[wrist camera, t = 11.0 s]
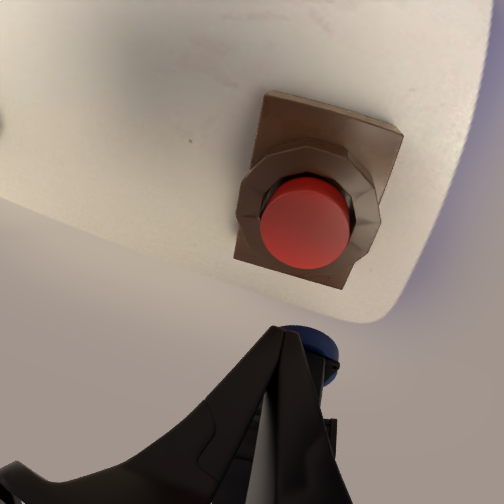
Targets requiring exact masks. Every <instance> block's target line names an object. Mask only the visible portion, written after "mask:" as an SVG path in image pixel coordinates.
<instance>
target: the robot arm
mask: <svg viewBox="0 0 504 504" xmlns="http://www.w3.org/2000/svg"><path fill="white" fill-rule="evenodd" d="M339 368H340V363H339V362H338V361H336V360H333V359H330V358H328V357H325V356H322V355H320V354H317V353H315V352H312V351H309V350H307V349H304V348H303V345H302V342H301V338H300V335H299V333H297V332H294V331H291V330H284V329H283V328H280V327H277V326H271V327H270V328H269V329H268V330H267V331H266V332H265V333H264V335H263V336H262V337H261V338H260V339H259V340H258V341H257V342H256V344H255V345H254V346H253V347H252V348H251V349H250V350H249V351H248V352H247V354H246V355H245V356H244V357H243V358H242V359H241V360H240V361H239V363H238V364H237V365H236V366H235V367H234V368H233V369H232V370H231V371H230V372H229V373H228V375H227V376H226V377H225V378H224V379H223V380H222V381H221V382H220V383H219V384H218V385H217V386H216V387H215V388H214V389H213V391H212V392H211V393H210V394H209V395H208V396H207V397H206V398H205V400H203V401H202V402H201V403H200V404H199V405H198V406H197V407H196V408H195V409H194V410H193V411H192V412H191V413H190V414H189V415H188V416H187V417H186V418H185V419H184V420H182V421H181V422H180V423H179V424H178V425H176V426H175V427H174V428H173V429H171V430H170V431H169V432H167V433H166V434H165V435H164V436H162V437H161V438H159V439H158V440H156V441H155V442H154V443H152V444H151V445H150V446H148V447H147V448H145V449H144V450H142V451H141V452H140V453H138V454H137V455H135V456H134V457H132V458H130V459H128V460H127V461H125V462H123V463H121V464H119V465H116V466H114V467H111V468H108V469H105V470H102V471H99V472H96V473H93V474H90V475H87V476H83V477H80V478H77V479H74V480H70V481H67V482H61V483H57V482H50V481H48V480H46V479H44V478H43V477H41V476H40V475H38V474H37V473H35V472H34V471H32V470H31V469H29V468H28V467H26V466H25V465H24V464H22V463H21V462H19V461H15V462H12V463H10V464H8V465H6V466H4V467H2V468H1V469H0V504H22V503H21V501H23V502H24V503H25V504H211V502H212V504H353V503H352V500H351V498H350V496H349V493H348V491H347V488H346V486H345V484H344V481H343V479H342V477H341V474H340V471H339V469H338V466H337V464H336V461H335V456H336V436H337V435H336V434H337V419H332V418H331V419H323V416H322V412H321V409H320V405H321V398H322V390H323V384H324V383H325V382H326V381H327V380H328V379H329V378H330V377H331V376H332V375H333V374H335V373H336V372H337V371H338V370H339Z"/></svg>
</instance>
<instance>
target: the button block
mask: <svg viewBox="0 0 504 504" xmlns="http://www.w3.org/2000/svg"><path fill="white" fill-rule="evenodd" d="M403 137H404V135H403V134H402V133H401V132H400V131H399V130H398V128H397V127H396V126H393V125H391V124H388V123H385V122H382V121H379V120H376V119H374V118H371V117H368V116H365V115H362V114H358V113H355V112H352V111H349V110H346V109H342V108H339V107H336V106H332V105H329V104H325V103H322V102H318V101H314V100H310V99H307V98H303V97H299V96H295V95H290V94H286V93H282V92H277V91H271V92H269V93H267V94H265V95H264V98H263V103H262V108H261V113H260V118H259V123H258V128H257V134H256V139H255V144H254V149H253V154H252V159H251V165H250V170H249V172H248V174H247V175H246V176H245V178H244V179H243V180H242V182H241V186H240V192H239V198H238V203H237V209H236V217H237V220H238V222H239V229H238V235H237V240H236V246H235V251H234V259H237V260H240V261H244V262H247V263H251V264H254V265H257V266H261V267H264V268H268V269H271V270H274V271H278V272H281V273H285V274H288V275H292V276H295V277H299V278H302V279H305V280H309V281H312V282H316V283H319V284H323V285H326V286H330V287H333V288H337V289H340V290H342V289H343V287H344V285H345V283H346V281H347V279H348V276H349V274H350V272H351V270H352V268H353V265H354V263H355V262H356V261H358V260H359V259H361V258H362V257H363V256H365V255H366V254H367V253H368V252H369V250H370V247H371V245H372V243H373V241H374V238H375V236H376V234H377V231H378V229H379V227H380V224H381V218H380V212H379V203H380V201H381V198H382V196H383V193H384V191H385V188H386V185H387V183H388V180H389V177H390V175H391V172H392V169H393V166H394V163H395V161H396V158H397V155H398V152H399V149H400V146H401V143H402V140H403ZM299 177H314V178H318V179H321V180H324V181H326V182H328V183H330V184H331V185H333V186H334V187H335V188H336V189H338V190H339V192H340V193H341V194H342V195H343V197H344V199H345V201H346V203H347V206H348V210H349V223H350V236H349V241H348V244H347V246H346V248H345V250H344V252H343V253H342V254H341V255H340V256H339V257H338V258H337V259H336V260H335V261H333V262H332V263H330V264H328V265H326V266H323V267H320V268H316V269H300V268H295V267H292V266H289V265H287V264H285V263H283V262H281V261H279V260H278V259H277V258H275V257H274V256H273V255H272V254H271V253H270V251H269V250H268V249H267V247H266V246H265V244H264V241H263V239H262V236H261V230H260V224H261V219H262V215H263V213H264V211H265V209H266V206H267V204H268V202H269V200H270V198H271V196H272V194H273V193H274V191H275V190H276V189H277V188H278V187H279V186H280V185H282V184H283V183H285V182H286V181H289V180H291V179H294V178H299Z"/></svg>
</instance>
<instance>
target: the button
mask: <svg viewBox="0 0 504 504" xmlns="http://www.w3.org/2000/svg"><path fill="white" fill-rule="evenodd" d="M260 230H261V236H262V239H263V241H264V244H265V246H266V247H267V249H268V250H269V251H270V253H271V254H272V255H273V256H274V257H275V258H277V259H278V260H279V261H281V262H283V263H285V264H287V265H289V266H292V267H295V268H300V269H316V268H320V267H323V266H326V265H328V264H330V263H332V262H333V261H335V260H336V259H337V258H338V257H339V256H340V255H341V254H342V253H343V252H344V250H345V248H346V246H347V244H348V241H349V236H350V223H349V210H348V206H347V203H346V201H345V199H344V197H343V195H342V194H341V193H340V192H339V190H338V189H336V188H335V187H334V186H333V185H331V184H330V183H328V182H326V181H324V180H321V179H318V178H314V177H299V178H294V179H291V180H289V181H286V182H285V183H283V184H282V185H280V186H279V187H278V188H277V189H276V190H275V191H274V193H273V194H272V196H271V198H270V200H269V202H268V204H267V206H266V209H265V211H264V213H263V215H262V219H261V224H260Z"/></svg>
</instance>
